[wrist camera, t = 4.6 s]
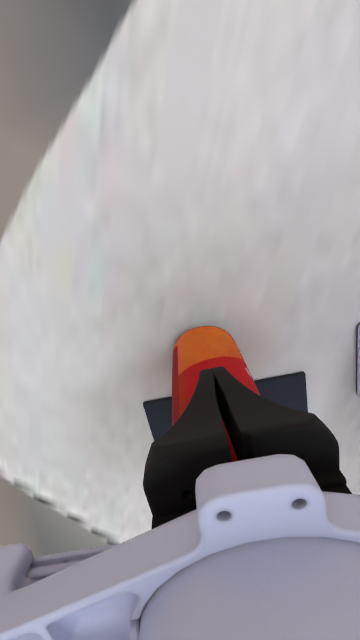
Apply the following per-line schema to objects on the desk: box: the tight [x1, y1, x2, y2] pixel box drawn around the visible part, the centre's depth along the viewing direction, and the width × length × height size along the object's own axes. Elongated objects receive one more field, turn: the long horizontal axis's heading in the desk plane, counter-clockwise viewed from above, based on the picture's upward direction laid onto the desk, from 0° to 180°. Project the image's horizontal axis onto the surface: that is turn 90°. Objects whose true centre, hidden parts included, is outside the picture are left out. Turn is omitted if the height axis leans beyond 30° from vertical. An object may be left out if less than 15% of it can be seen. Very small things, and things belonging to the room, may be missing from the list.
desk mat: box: [143, 372, 308, 441], centre depth 28 cm, size 16×20×1 cm
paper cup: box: [172, 326, 261, 462], centre depth 17 cm, size 8×8×14 cm
